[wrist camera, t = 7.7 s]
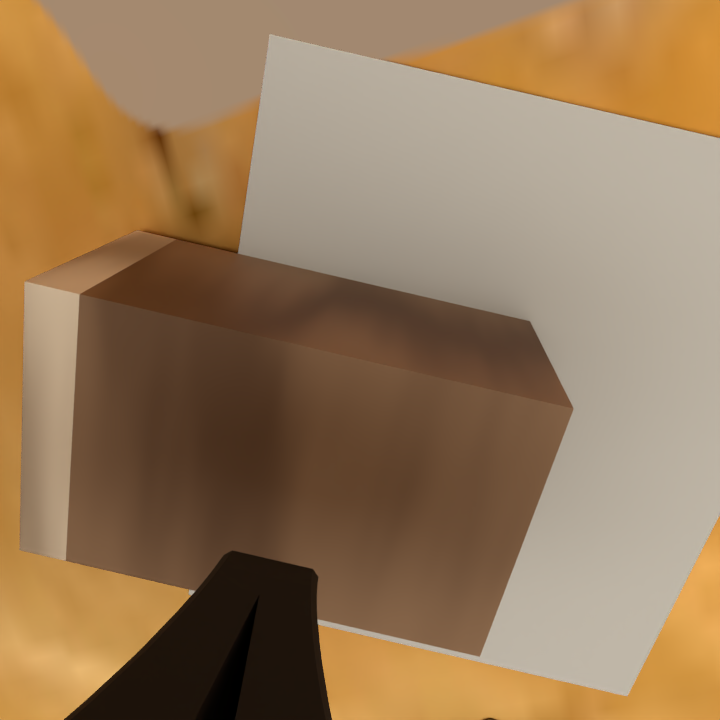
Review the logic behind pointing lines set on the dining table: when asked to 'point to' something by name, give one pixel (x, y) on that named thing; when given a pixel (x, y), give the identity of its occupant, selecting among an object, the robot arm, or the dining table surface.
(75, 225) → the dining table surface
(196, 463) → the walnut block
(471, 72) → the dining table surface
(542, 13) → the dining table surface
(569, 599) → the board
